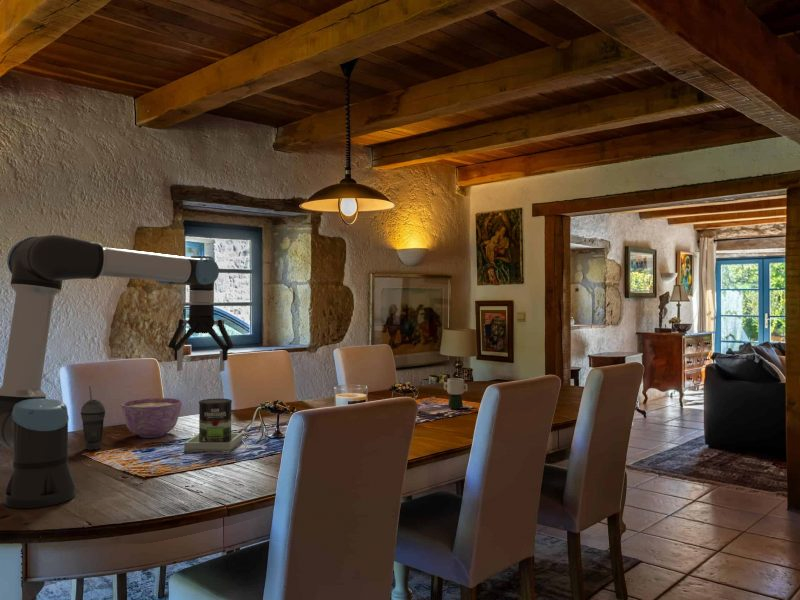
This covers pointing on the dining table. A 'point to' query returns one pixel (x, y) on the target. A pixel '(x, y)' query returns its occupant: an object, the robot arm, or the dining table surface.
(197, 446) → the tray
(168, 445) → the dining table surface
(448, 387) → the character mug
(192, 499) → the dining table surface
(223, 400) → the coffee can
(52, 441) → the robot arm
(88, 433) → the beverage cup
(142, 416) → the bowl of food
